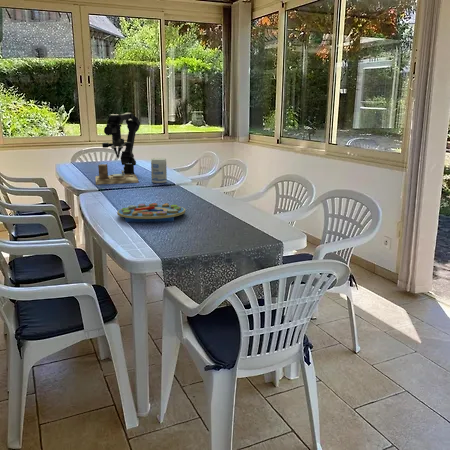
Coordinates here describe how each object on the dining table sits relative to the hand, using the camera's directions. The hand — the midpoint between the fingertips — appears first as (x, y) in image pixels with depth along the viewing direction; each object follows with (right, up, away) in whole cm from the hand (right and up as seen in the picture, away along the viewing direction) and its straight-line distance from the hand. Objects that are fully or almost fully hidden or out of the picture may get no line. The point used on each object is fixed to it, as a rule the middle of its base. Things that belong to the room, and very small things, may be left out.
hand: (117, 157), depth 293 cm
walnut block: (-5, -16, -15) cm, 23 cm away
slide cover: (+1, -12, -2) cm, 13 cm away
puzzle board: (+1, -16, -8) cm, 18 cm away
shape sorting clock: (+38, -41, -91) cm, 107 cm away
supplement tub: (+29, -17, -12) cm, 36 cm away
